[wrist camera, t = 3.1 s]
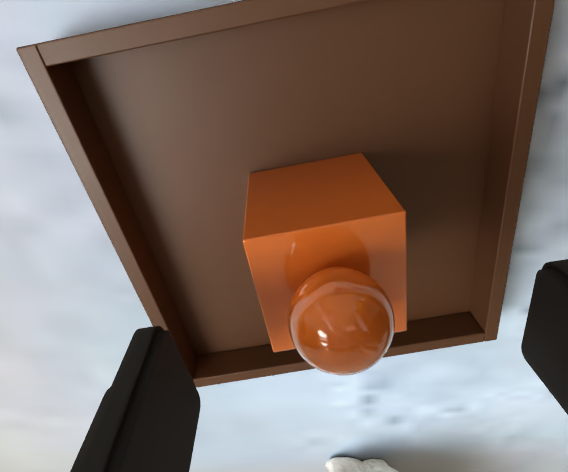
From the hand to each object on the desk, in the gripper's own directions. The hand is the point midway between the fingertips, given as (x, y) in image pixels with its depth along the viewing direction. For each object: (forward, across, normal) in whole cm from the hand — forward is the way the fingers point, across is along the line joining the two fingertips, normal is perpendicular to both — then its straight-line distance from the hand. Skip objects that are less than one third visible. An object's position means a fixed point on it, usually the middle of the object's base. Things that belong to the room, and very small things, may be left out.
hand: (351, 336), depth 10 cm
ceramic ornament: (+7, 0, 0) cm, 7 cm away
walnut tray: (+7, 0, 0) cm, 7 cm away
